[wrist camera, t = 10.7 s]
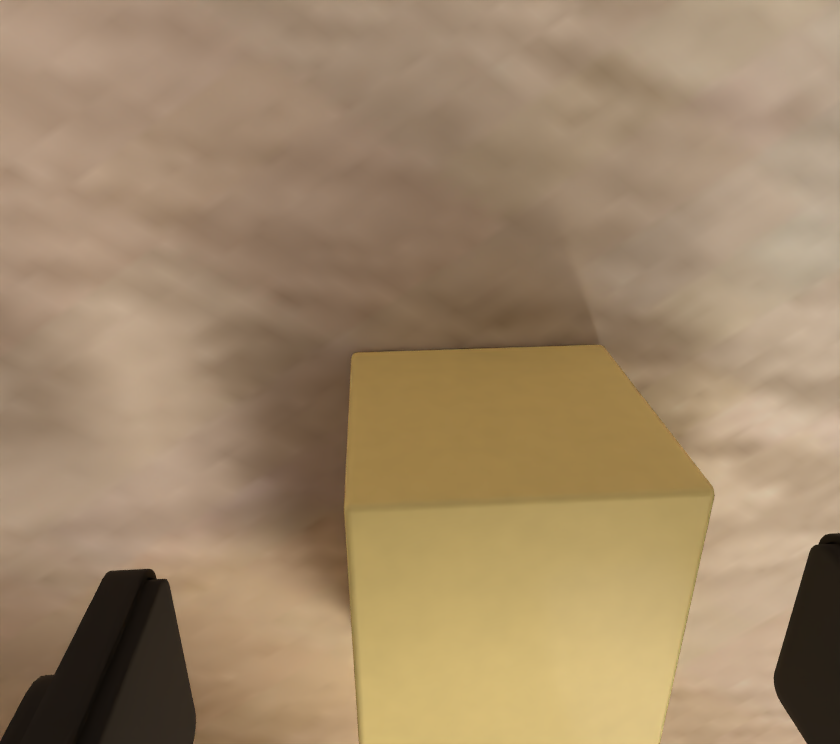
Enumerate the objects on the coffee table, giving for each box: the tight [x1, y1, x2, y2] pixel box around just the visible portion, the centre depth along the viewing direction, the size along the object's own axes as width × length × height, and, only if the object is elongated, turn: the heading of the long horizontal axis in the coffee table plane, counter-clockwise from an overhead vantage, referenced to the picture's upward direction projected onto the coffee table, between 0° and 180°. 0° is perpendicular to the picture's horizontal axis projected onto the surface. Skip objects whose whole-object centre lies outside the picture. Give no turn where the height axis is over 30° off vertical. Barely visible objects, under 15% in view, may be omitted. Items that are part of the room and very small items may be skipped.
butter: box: [344, 345, 715, 744], centre depth 10 cm, size 6×4×4 cm, turn 0°
